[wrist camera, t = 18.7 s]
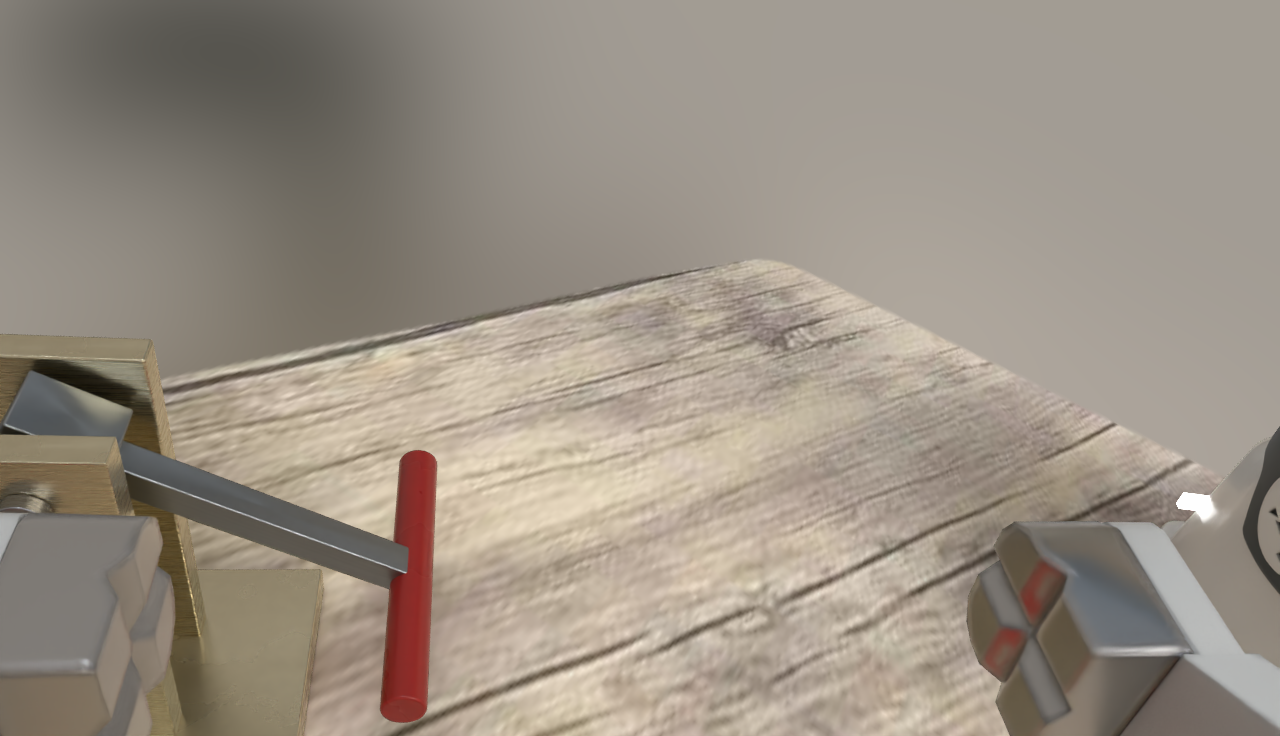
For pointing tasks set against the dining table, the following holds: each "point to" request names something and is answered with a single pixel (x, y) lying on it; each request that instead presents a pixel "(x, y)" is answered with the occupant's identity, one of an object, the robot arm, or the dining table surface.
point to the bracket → (167, 549)
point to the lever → (275, 523)
